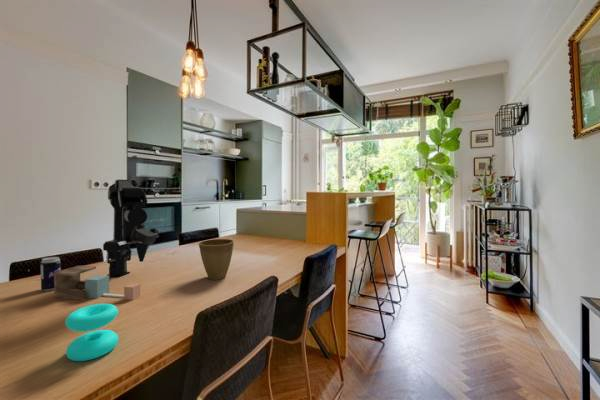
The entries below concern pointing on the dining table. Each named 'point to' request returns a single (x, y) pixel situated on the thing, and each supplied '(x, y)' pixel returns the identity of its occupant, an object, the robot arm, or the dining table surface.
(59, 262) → the beverage can
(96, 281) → the tethered block
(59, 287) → the shelf lane
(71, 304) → the dining table surface
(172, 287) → the dining table surface
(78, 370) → the dining table surface
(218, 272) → the plant pot
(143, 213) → the robot arm
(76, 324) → the donuts
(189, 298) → the dining table surface
